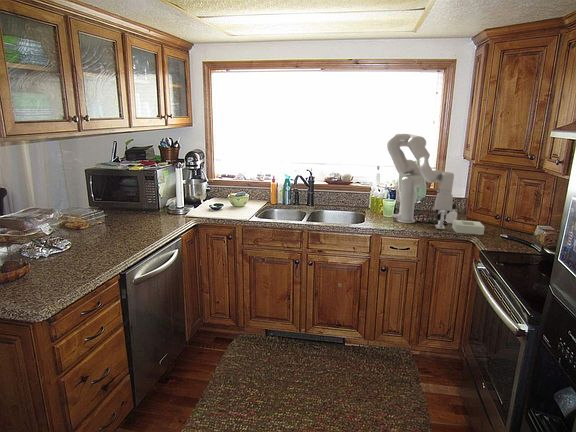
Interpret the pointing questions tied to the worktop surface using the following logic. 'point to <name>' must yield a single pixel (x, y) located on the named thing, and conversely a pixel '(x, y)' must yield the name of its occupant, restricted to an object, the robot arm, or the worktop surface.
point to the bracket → (441, 220)
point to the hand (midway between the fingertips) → (441, 219)
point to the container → (451, 215)
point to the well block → (468, 227)
